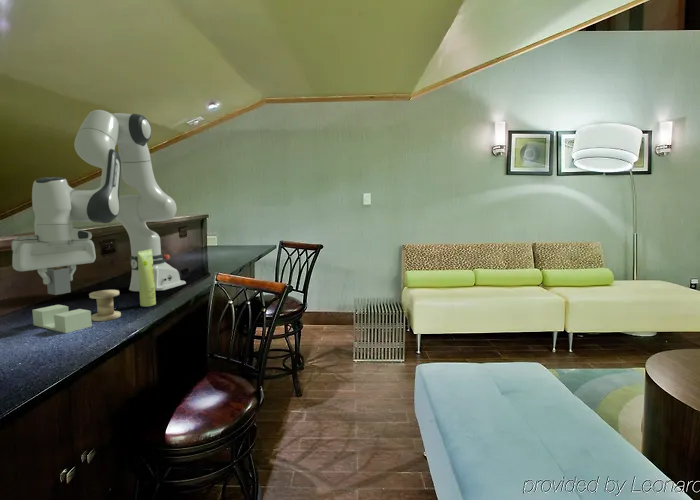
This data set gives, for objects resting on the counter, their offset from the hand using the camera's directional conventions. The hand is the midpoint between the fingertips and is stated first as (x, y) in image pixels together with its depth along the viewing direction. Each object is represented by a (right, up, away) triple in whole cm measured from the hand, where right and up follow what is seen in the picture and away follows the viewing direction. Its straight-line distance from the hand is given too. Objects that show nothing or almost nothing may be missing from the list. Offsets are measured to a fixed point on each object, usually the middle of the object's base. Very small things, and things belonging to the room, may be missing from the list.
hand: (58, 282), depth 115 cm
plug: (0, -3, 0) cm, 3 cm away
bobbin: (+8, -12, +10) cm, 17 cm away
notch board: (0, -13, +2) cm, 13 cm away
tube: (+13, -10, +25) cm, 30 cm away
